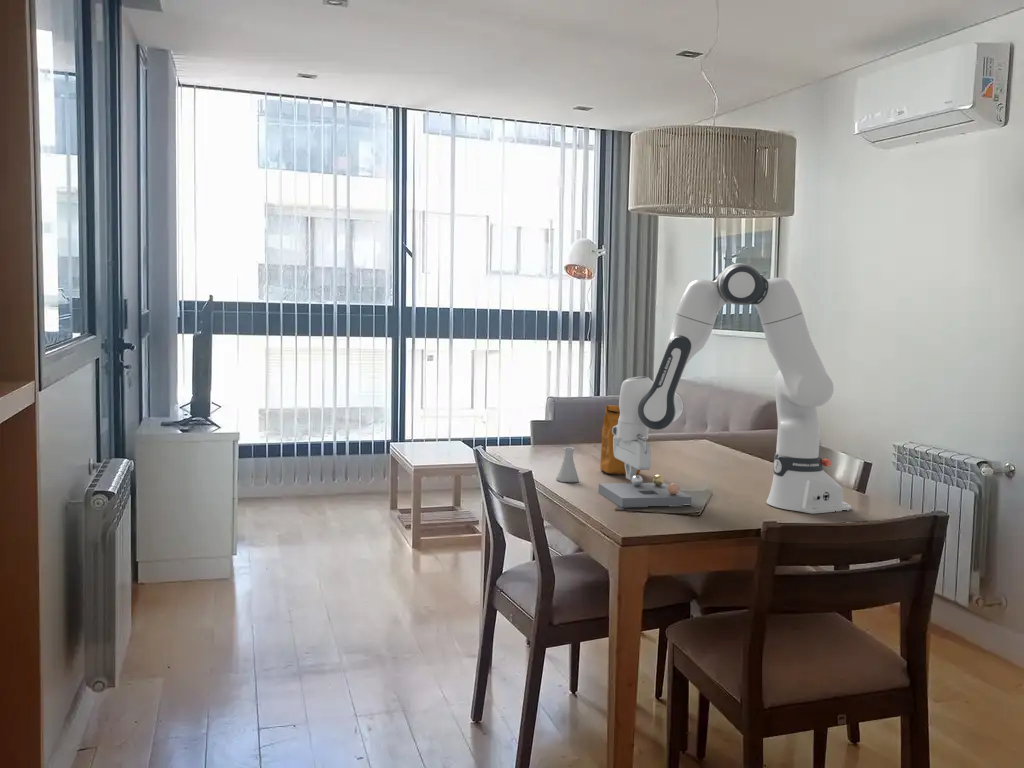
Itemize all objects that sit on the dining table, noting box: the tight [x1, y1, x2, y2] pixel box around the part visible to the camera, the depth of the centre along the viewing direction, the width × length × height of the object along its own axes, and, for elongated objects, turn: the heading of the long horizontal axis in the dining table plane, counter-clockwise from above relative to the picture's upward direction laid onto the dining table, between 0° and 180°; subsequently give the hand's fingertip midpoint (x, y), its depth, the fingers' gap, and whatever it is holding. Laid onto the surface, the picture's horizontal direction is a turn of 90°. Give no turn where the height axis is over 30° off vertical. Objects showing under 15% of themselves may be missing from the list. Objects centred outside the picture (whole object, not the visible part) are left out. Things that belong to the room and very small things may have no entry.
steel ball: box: [630, 474, 644, 486], centre depth 235 cm, size 3×3×3 cm
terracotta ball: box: [668, 482, 680, 495], centre depth 226 cm, size 3×3×3 cm
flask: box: [555, 446, 580, 483], centre depth 251 cm, size 7×7×10 cm
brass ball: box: [652, 474, 665, 486], centre depth 237 cm, size 3×3×3 cm
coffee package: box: [599, 404, 642, 476], centre depth 265 cm, size 10×12×22 cm
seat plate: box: [597, 482, 692, 508], centre depth 230 cm, size 20×18×2 cm
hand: (630, 479), depth 240 cm, fingers closed
